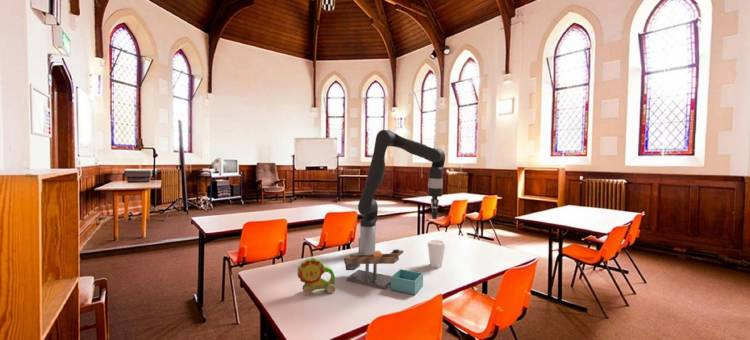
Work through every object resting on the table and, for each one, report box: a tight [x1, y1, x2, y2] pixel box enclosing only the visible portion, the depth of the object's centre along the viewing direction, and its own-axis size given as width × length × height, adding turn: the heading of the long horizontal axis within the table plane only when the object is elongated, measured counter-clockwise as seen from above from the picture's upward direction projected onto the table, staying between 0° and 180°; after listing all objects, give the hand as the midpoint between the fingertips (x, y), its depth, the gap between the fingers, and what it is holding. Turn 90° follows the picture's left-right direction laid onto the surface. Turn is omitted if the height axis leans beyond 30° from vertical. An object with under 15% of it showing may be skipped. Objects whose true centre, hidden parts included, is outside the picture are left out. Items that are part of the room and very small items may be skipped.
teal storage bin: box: [390, 268, 424, 296], centre depth 146 cm, size 11×11×6 cm
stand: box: [345, 262, 393, 290], centre depth 154 cm, size 20×12×10 cm, turn 64°
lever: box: [343, 248, 404, 271], centre depth 159 cm, size 26×18×6 cm
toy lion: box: [297, 257, 336, 296], centre depth 139 cm, size 16×5×15 cm, turn 105°
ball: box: [374, 250, 383, 257], centre depth 152 cm, size 4×4×4 cm
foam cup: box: [427, 239, 446, 269], centre depth 175 cm, size 10×9×13 cm
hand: (434, 217), depth 171 cm, fingers open, 8 cm apart
